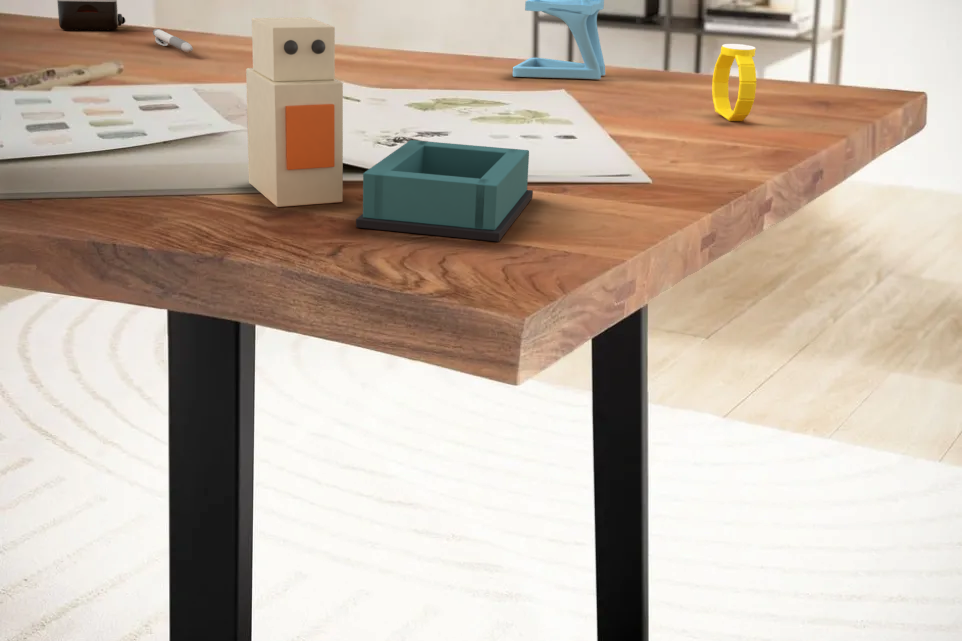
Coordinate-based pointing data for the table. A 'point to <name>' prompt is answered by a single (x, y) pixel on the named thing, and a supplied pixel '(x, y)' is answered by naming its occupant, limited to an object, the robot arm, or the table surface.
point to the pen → (171, 40)
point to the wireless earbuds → (89, 15)
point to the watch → (746, 80)
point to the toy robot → (294, 112)
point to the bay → (446, 190)
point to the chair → (578, 10)
